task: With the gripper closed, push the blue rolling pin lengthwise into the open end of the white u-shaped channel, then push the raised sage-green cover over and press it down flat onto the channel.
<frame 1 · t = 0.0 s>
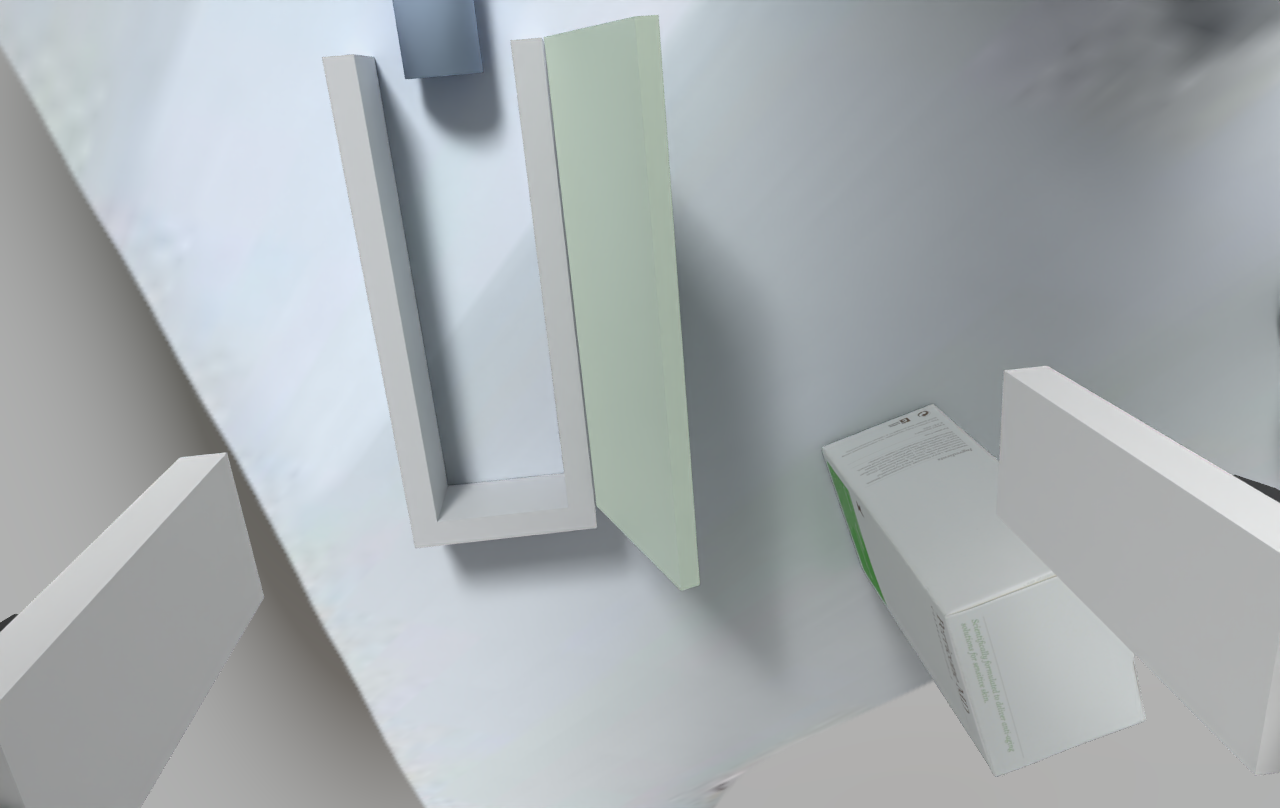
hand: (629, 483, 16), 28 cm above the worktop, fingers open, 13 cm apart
white u-shaped channel: (479, 282, 42), on the worktop
cover: (621, 309, 35), point 8 cm above the worktop, hinge at 110.0°
skincare box: (899, 487, 48), on the worktop
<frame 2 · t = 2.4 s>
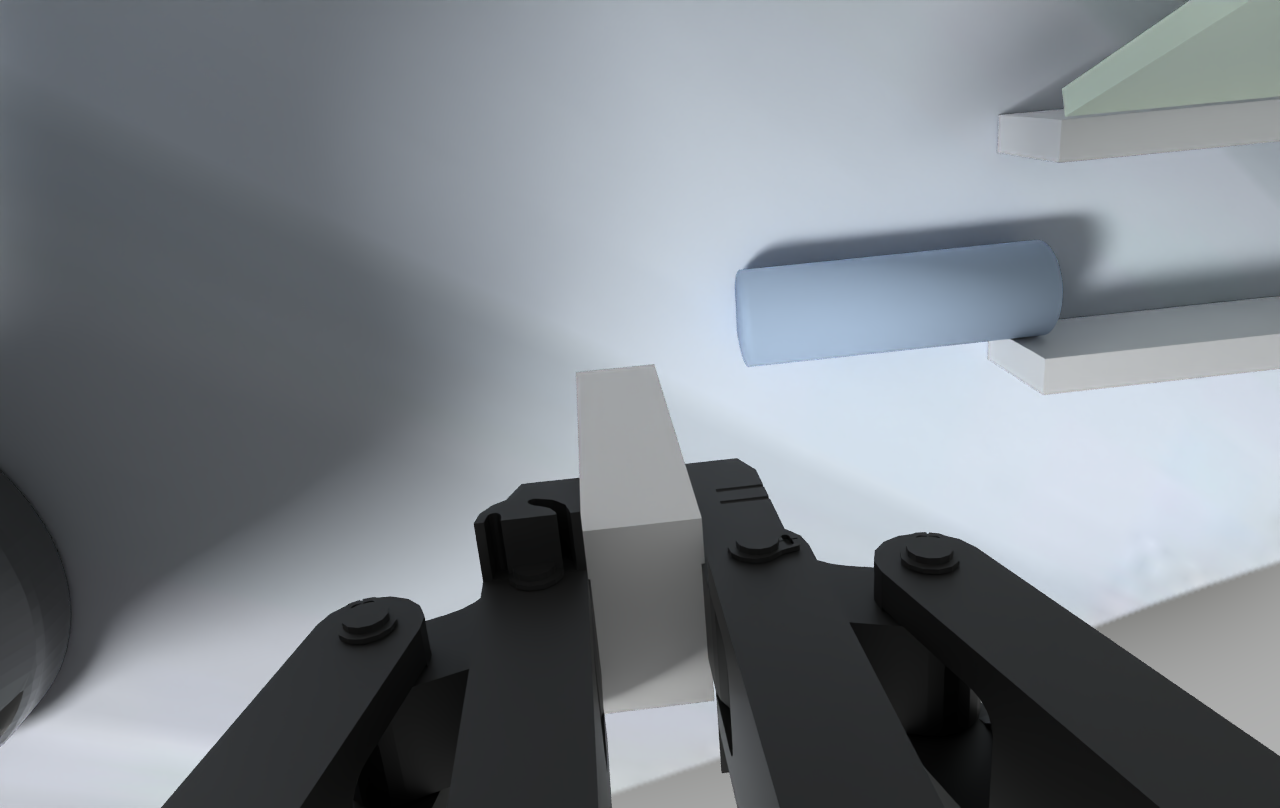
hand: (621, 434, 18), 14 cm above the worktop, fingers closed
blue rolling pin: (882, 259, 31), on the worktop, tilted 54°
white u-shaped channel: (1271, 214, 32), on the worktop
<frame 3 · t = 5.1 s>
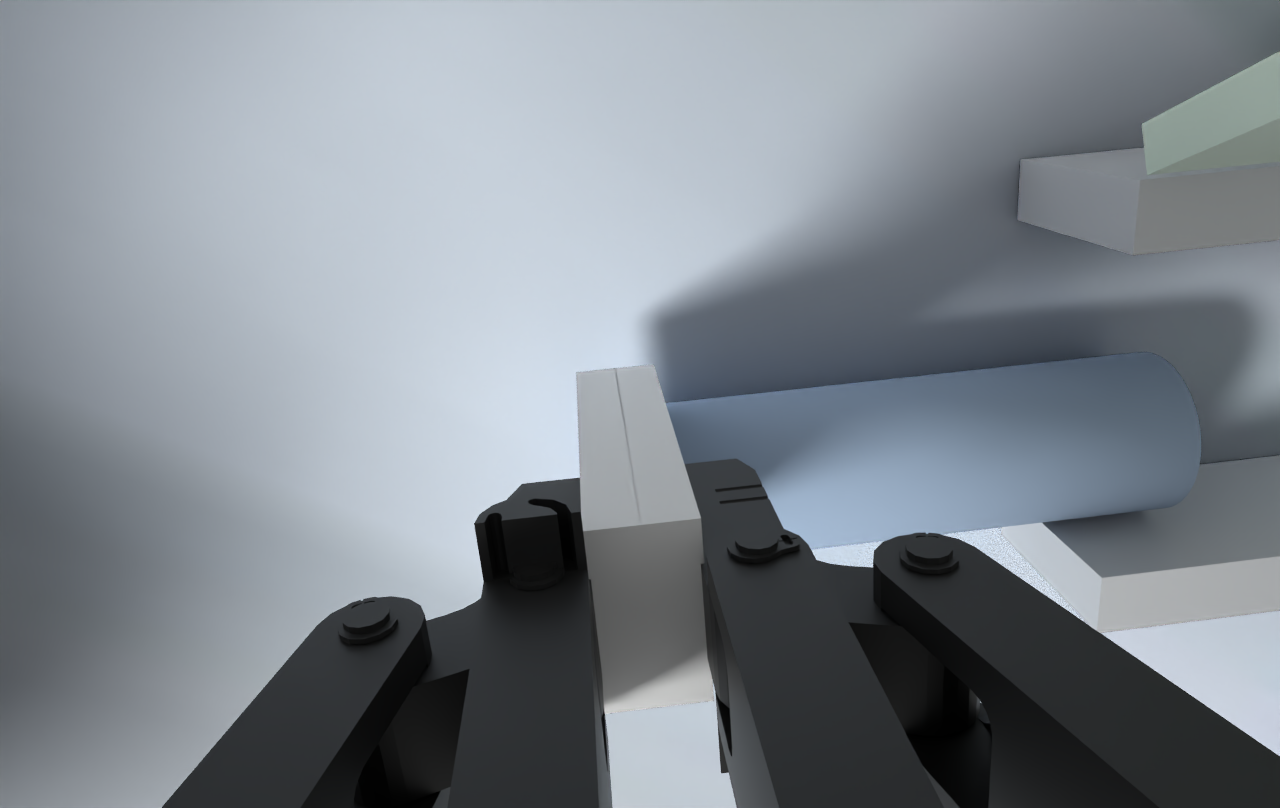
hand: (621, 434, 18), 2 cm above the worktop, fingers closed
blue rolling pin: (891, 384, 19), on the worktop, tilted 48°, touching gripper
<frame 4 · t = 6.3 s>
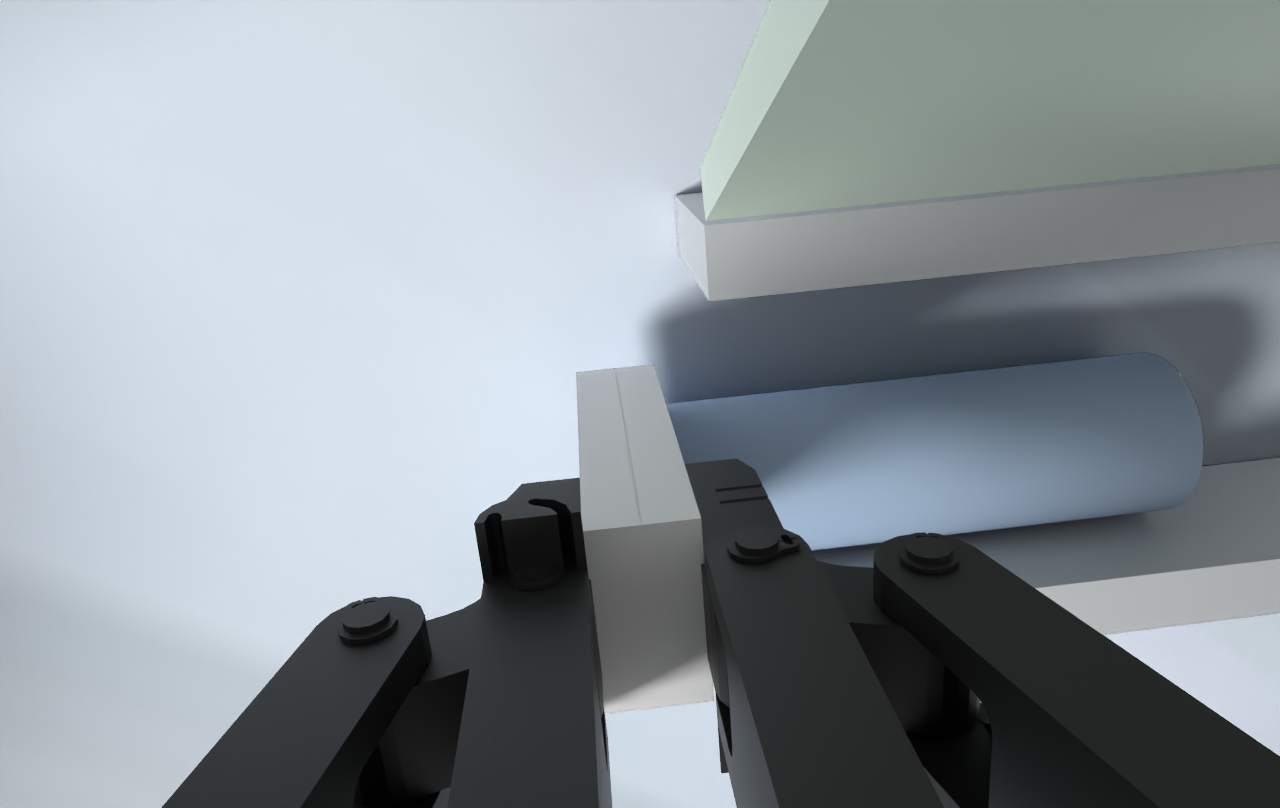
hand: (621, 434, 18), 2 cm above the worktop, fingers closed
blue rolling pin: (892, 385, 19), point 1 cm above the worktop, tilted 48°, touching gripper
white u-shaped channel: (1148, 347, 20), on the worktop
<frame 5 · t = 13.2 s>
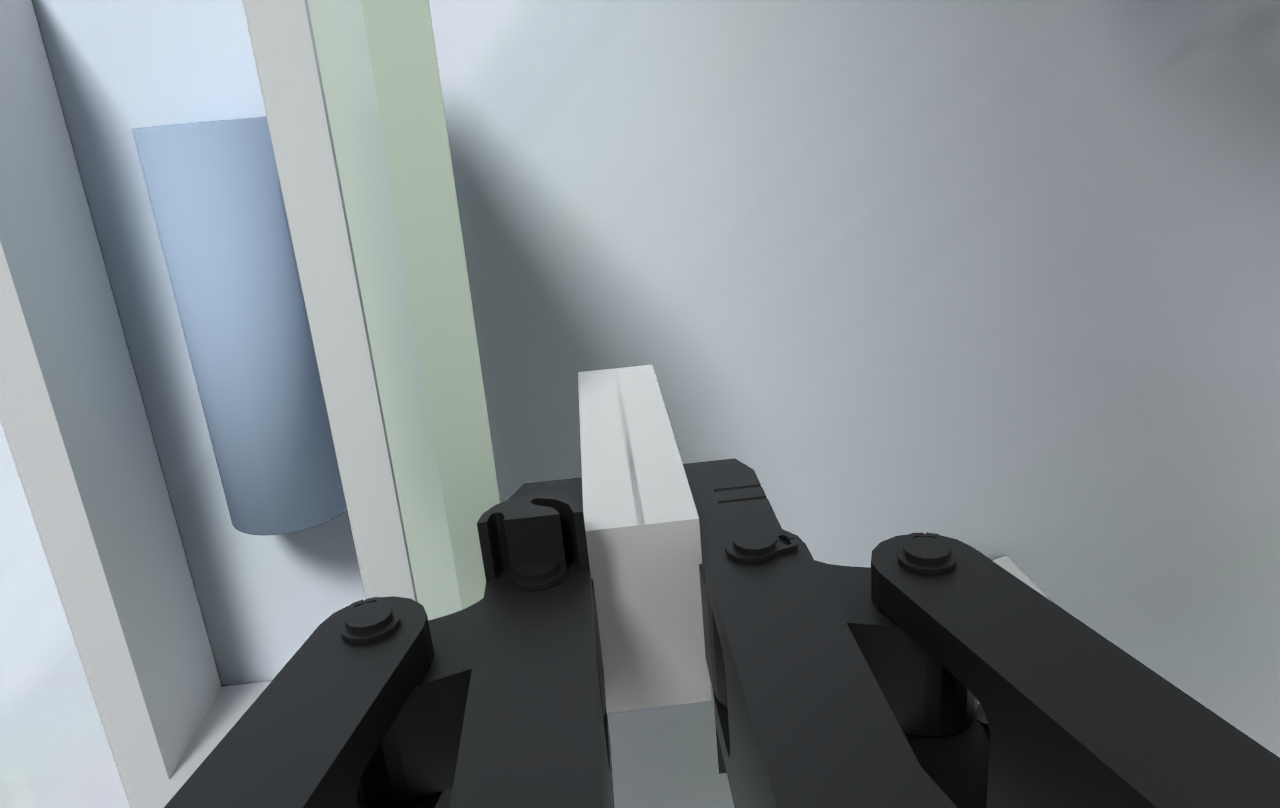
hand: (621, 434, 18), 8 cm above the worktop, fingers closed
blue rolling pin: (241, 318, 24), resting in white u-shaped channel, tilted 29°
white u-shaped channel: (249, 365, 25), on the worktop
cover: (430, 459, 17), point 8 cm above the worktop, hinge at 107.4°, touching gripper
skincare box: (949, 676, 30), on the worktop
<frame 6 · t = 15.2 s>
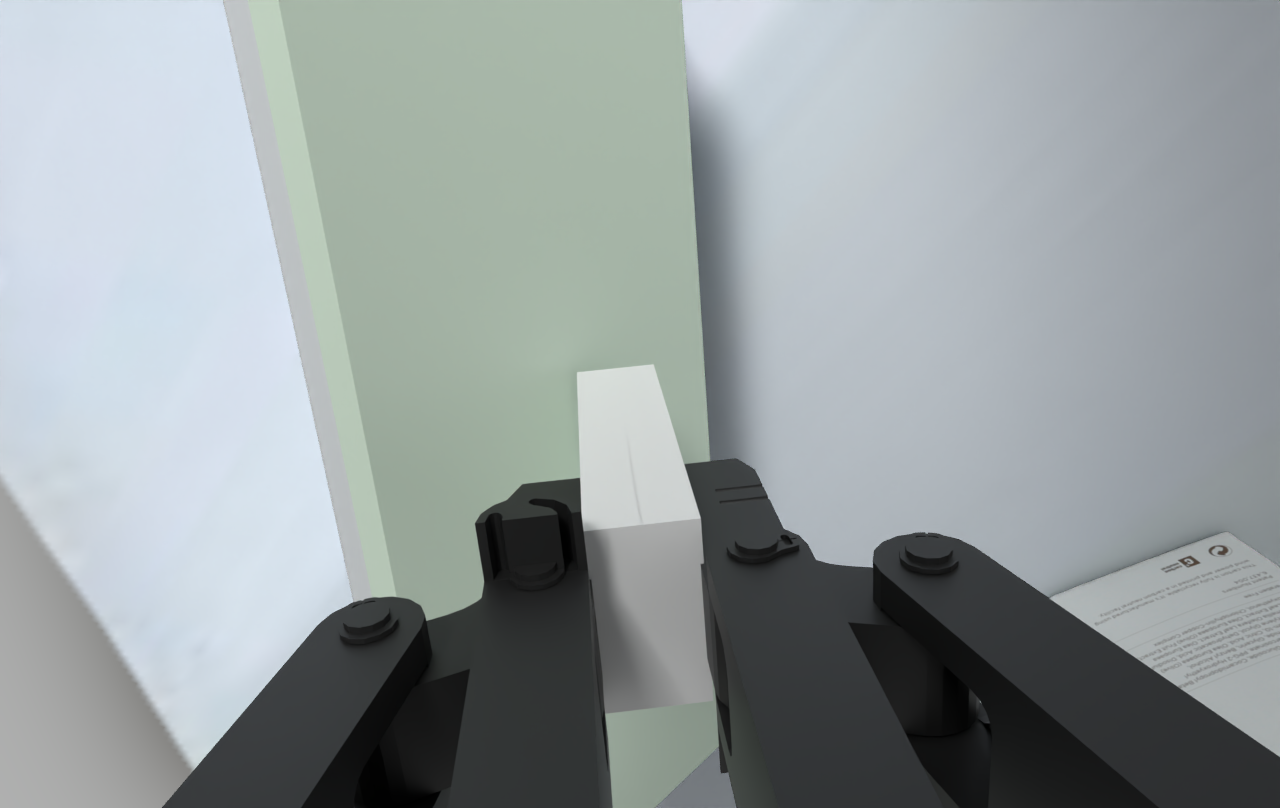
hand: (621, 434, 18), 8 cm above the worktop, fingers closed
white u-shaped channel: (504, 342, 25), on the worktop
cover: (556, 437, 18), point 8 cm above the worktop, hinge at 44.7°, touching gripper
skincare box: (1156, 654, 31), on the worktop
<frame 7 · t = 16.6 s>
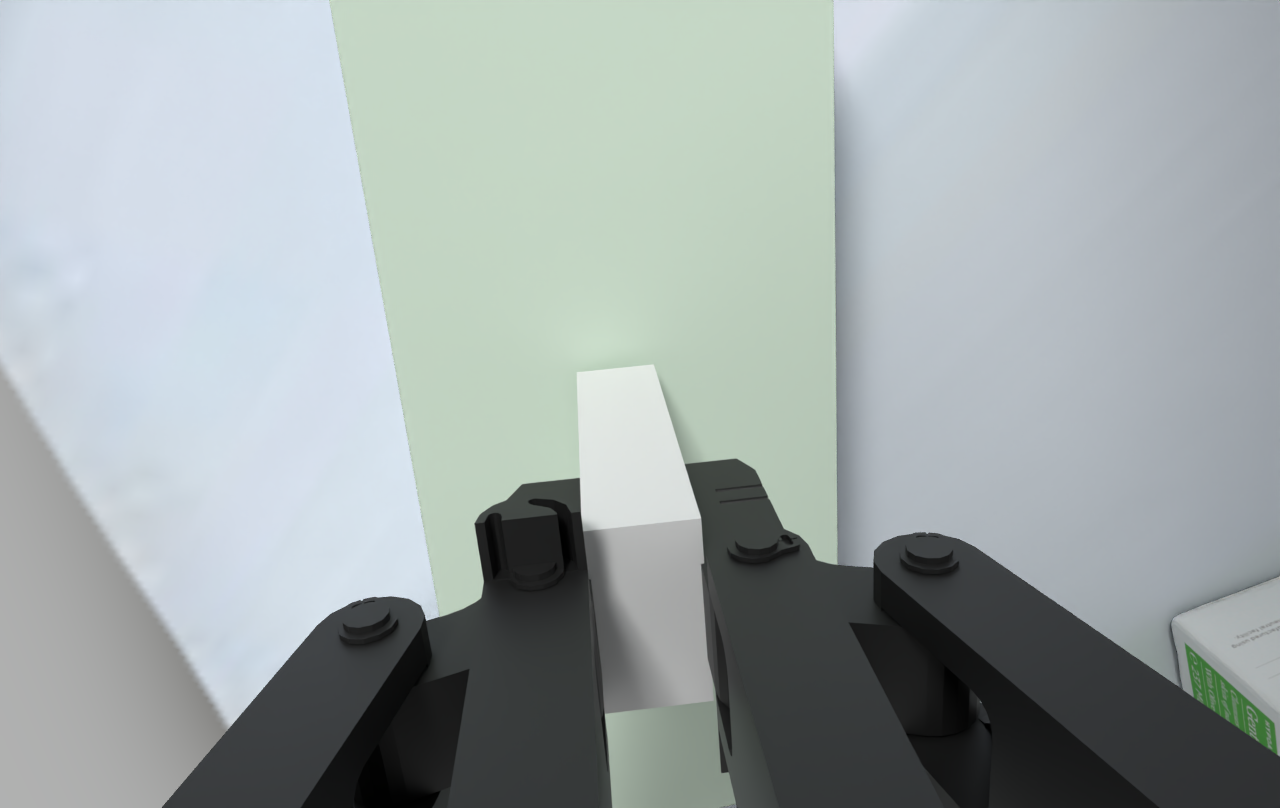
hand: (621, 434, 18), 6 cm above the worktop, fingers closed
cover: (628, 416, 18), point 5 cm above the worktop, hinge at 7.7°, touching gripper
skincare box: (1279, 675, 29), on the worktop
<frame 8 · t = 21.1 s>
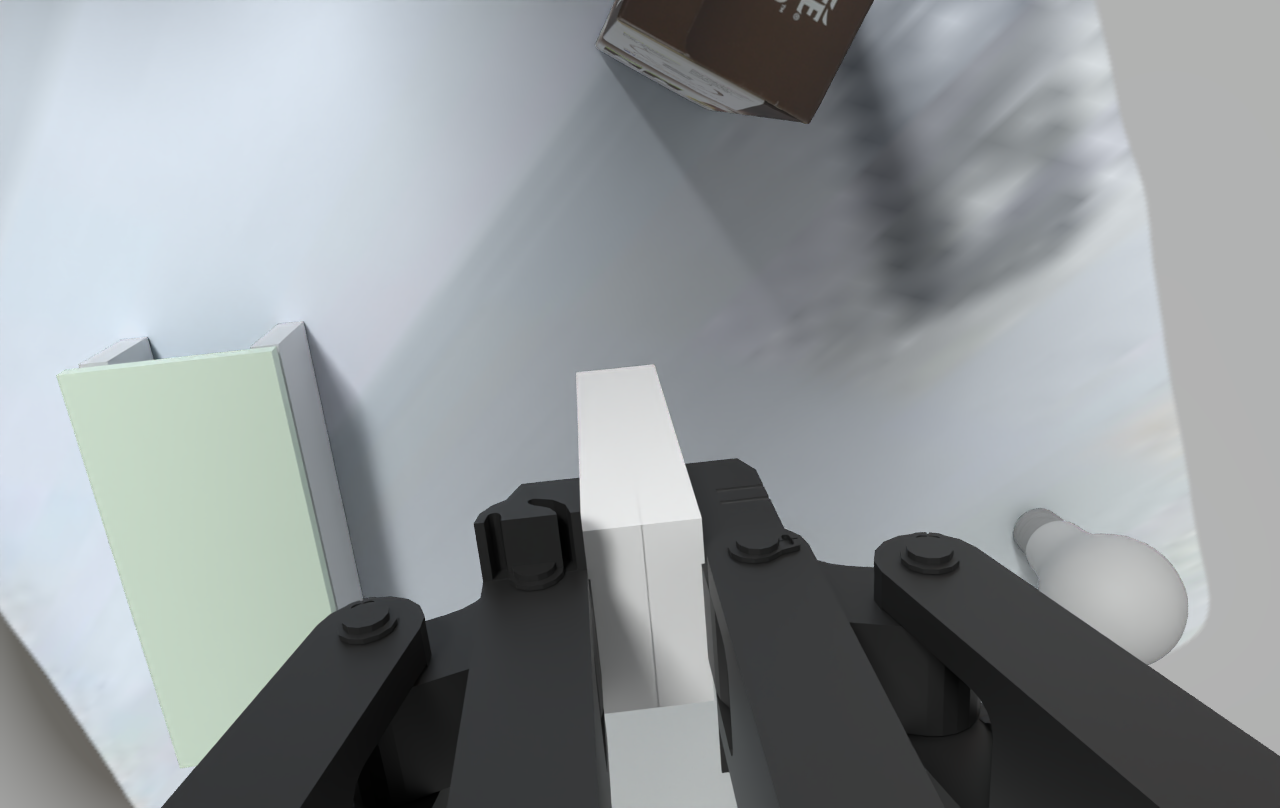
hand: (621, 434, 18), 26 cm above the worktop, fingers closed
white u-shaped channel: (260, 521, 46), on the worktop
lightbulb: (1027, 521, 50), on the worktop
cover: (225, 570, 42), point 5 cm above the worktop, hinge at 2.6°
skincare box: (672, 686, 52), on the worktop
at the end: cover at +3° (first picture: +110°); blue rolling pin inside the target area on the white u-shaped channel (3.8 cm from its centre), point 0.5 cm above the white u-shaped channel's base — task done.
